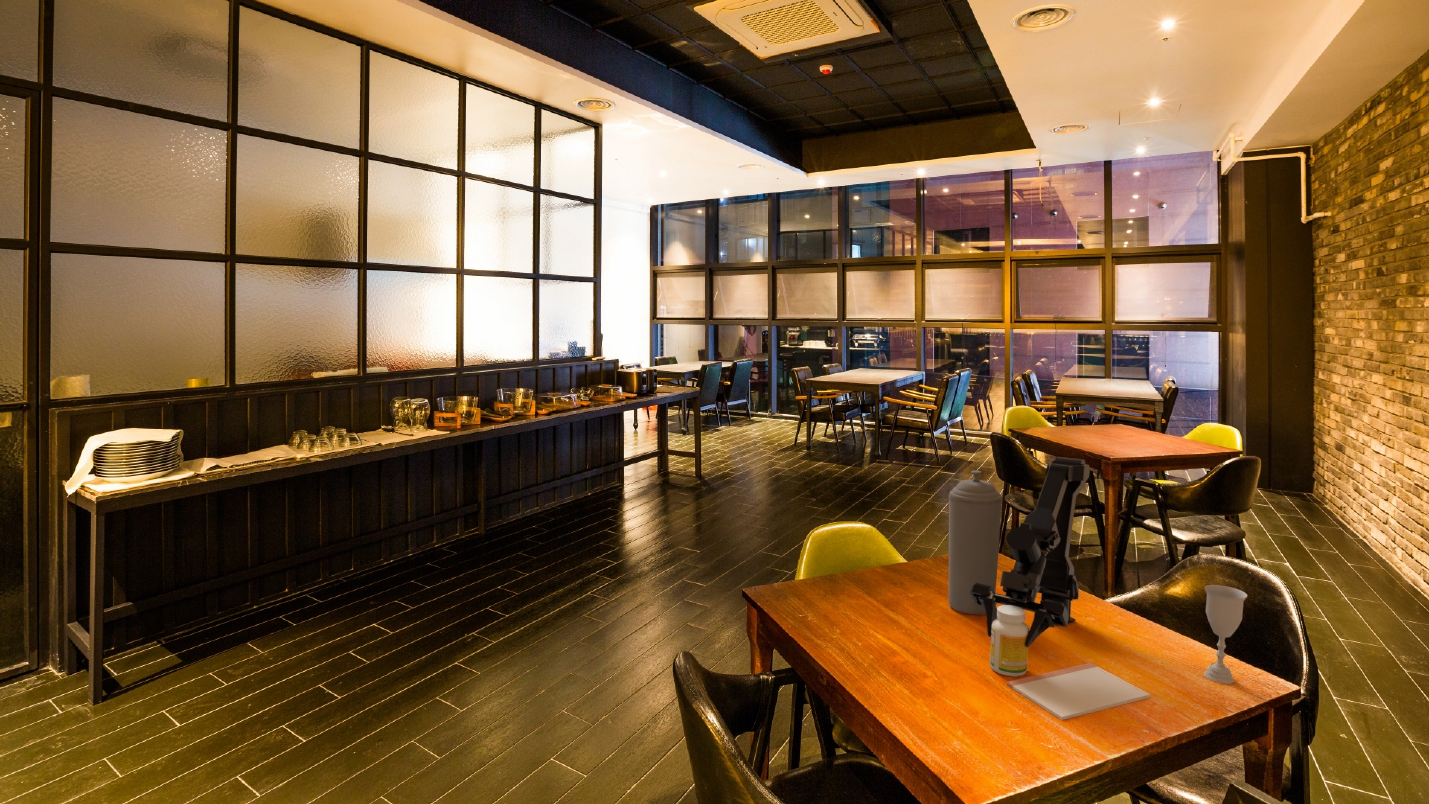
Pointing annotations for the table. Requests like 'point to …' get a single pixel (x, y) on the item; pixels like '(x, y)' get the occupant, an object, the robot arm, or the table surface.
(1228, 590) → the chalice
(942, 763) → the table surface
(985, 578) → the canister
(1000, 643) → the supplement bottle
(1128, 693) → the notepad
